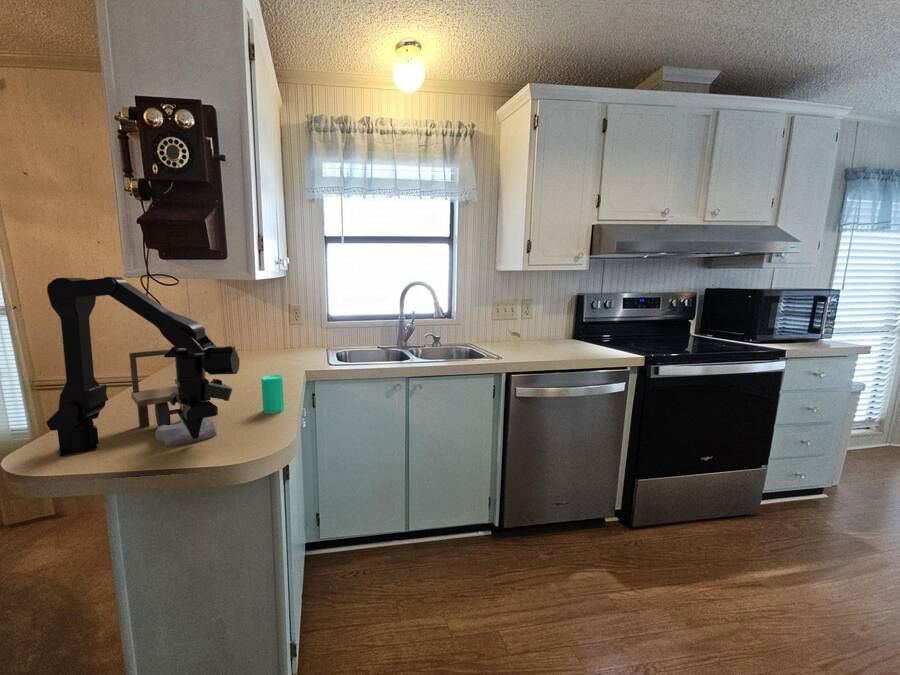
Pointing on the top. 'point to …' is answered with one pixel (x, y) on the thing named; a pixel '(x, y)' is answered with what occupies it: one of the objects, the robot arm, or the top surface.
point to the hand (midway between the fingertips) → (195, 438)
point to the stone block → (184, 433)
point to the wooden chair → (151, 394)
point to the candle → (272, 393)
